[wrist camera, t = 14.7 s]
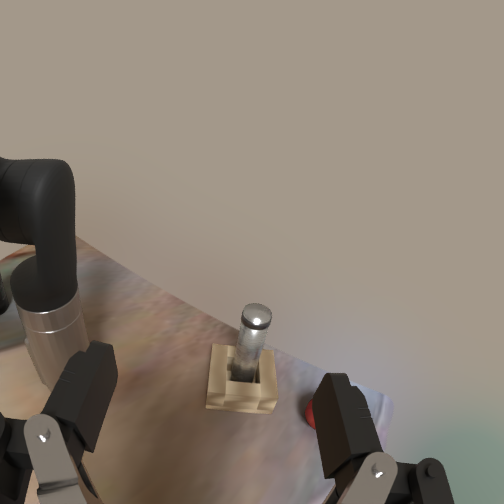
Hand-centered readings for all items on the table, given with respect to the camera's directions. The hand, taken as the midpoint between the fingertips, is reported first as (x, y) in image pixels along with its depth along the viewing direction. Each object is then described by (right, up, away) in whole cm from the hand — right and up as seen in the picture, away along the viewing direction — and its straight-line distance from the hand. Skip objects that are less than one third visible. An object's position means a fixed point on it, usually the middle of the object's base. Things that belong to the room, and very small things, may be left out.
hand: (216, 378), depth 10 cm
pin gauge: (-1, -16, +34) cm, 37 cm away
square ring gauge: (-1, -17, +34) cm, 38 cm away
